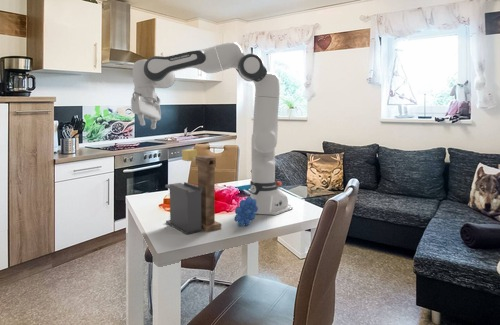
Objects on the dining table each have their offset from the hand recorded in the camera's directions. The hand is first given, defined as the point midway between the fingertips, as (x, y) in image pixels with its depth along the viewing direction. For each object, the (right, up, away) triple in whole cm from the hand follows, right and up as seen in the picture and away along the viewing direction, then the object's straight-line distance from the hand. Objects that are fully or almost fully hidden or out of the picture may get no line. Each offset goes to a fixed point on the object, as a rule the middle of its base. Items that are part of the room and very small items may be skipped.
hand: (148, 127), depth 160 cm
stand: (+26, -42, -11) cm, 51 cm away
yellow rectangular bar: (+23, -15, -10) cm, 29 cm away
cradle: (+18, -42, -12) cm, 47 cm away
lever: (+42, -34, +47) cm, 71 cm away
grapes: (+42, -42, -9) cm, 60 cm away
